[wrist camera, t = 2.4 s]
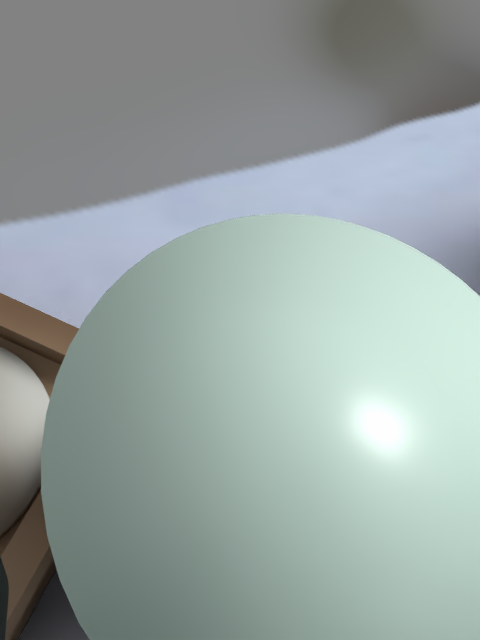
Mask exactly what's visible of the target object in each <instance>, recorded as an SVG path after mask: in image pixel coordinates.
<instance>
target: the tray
mask: <svg viewBox="0 0 480 640" xmlns="http://www.w3.org/2000/svg"><path fill="white" fill-rule="evenodd" d="M78 330H79V329H78V328H76V327H74V326H72V325H69V324H67V323H65V322H63V321H61V320H58V319H56V318H54V317H52V316H50V315H47V314H45V313H43V312H41V311H39V310H36V309H34V308H32V307H30V306H28V305H25V304H23V303H21V302H19V301H17V300H14V299H12V298H10V297H8V296H6V295H4V294H1V293H0V556H1V559H2V562H3V565H4V568H5V571H6V574H7V577H8V584H9V598H8V610H7V623H6V635H5V640H18V638H19V636H20V635H21V633H22V631H23V629H24V627H25V625H26V624H27V622H28V620H29V618H30V616H31V614H32V612H33V611H34V609H35V607H36V605H37V603H38V601H39V600H40V598H41V596H42V594H43V592H44V590H45V589H46V587H47V585H48V583H49V581H50V579H51V578H52V576H53V574H54V572H55V570H56V565H55V562H54V558H53V555H52V551H51V548H50V544H49V541H48V537H47V531H46V524H45V517H44V510H43V503H42V496H41V448H42V441H43V433H44V426H45V418H46V412H47V408H48V405H49V401H50V397H51V394H52V390H53V386H54V383H55V379H56V376H57V374H58V371H59V369H60V367H61V364H62V362H63V360H64V357H65V355H66V353H67V350H68V348H69V346H70V344H71V342H72V340H73V339H74V337H75V335H76V334H77V332H78Z"/></svg>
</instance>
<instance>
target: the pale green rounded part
mask: <svg viewBox="0 0 480 640" xmlns="http://www.w3.org/2000/svg"><path fill="white" fill-rule="evenodd" d="M41 496H42V503H43V510H44V517H45V524H46V531H47V537H48V541H49V544H50V548H51V551H52V555H53V558H54V562H55V565H56V569H57V572H58V576H59V579H60V582H61V584H62V586H63V588H64V591H65V593H66V595H67V598H68V600H69V602H70V604H71V607H72V609H73V611H74V613H75V616H76V618H77V620H78V622H79V624H80V626H81V627H82V629H83V630H84V632H85V634H86V635H87V637H88V638H89V640H480V296H479V295H478V294H477V293H476V292H475V291H473V290H472V289H471V288H470V287H469V286H468V285H467V284H466V283H464V282H463V281H462V280H461V279H460V278H458V277H457V276H456V275H454V274H453V273H452V272H450V271H449V270H448V269H446V268H445V267H443V266H442V265H441V264H439V263H438V262H437V261H435V260H433V259H432V258H430V257H428V256H427V255H425V254H423V253H422V252H420V251H418V250H417V249H415V248H413V247H411V246H409V245H407V244H405V243H403V242H401V241H399V240H397V239H395V238H392V237H390V236H388V235H386V234H383V233H380V232H378V231H375V230H372V229H369V228H367V227H364V226H361V225H357V224H353V223H349V222H345V221H342V220H338V219H333V218H326V217H320V216H313V215H302V214H265V215H252V216H247V217H241V218H235V219H229V220H225V221H222V222H218V223H215V224H212V225H208V226H205V227H201V228H199V229H197V230H194V231H192V232H190V233H187V234H185V235H183V236H180V237H178V238H176V239H174V240H172V241H170V242H169V243H167V244H165V245H164V246H162V247H160V248H158V249H157V250H155V251H153V252H151V253H150V254H149V255H147V256H146V257H145V258H143V259H142V260H141V261H140V262H138V263H137V264H136V265H134V266H133V267H132V268H130V269H129V270H128V271H127V272H126V273H125V274H124V275H123V276H122V277H121V278H120V279H119V280H117V281H116V282H115V283H114V284H113V285H112V286H111V287H110V288H109V289H108V290H107V291H106V292H105V294H104V295H103V296H102V298H101V299H100V300H99V301H98V303H97V304H96V305H95V306H94V308H93V309H92V310H91V312H90V313H89V314H88V315H87V317H86V318H85V320H84V322H83V323H82V325H81V327H80V329H79V330H78V332H77V334H76V335H75V337H74V339H73V340H72V342H71V344H70V346H69V348H68V350H67V353H66V355H65V357H64V360H63V362H62V364H61V367H60V369H59V371H58V374H57V376H56V379H55V383H54V386H53V390H52V394H51V397H50V401H49V405H48V408H47V412H46V418H45V426H44V433H43V441H42V448H41Z"/></svg>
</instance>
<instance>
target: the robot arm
mask: <svg viewBox="0 0 480 640" xmlns="http://www.w3.org/2000/svg"><path fill="white" fill-rule="evenodd" d="M8 598H9V584H8V577H7V574H6V571H5V568H4V565H3V562H2V559H1V556H0V640H5V635H6V623H7V610H8Z"/></svg>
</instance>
